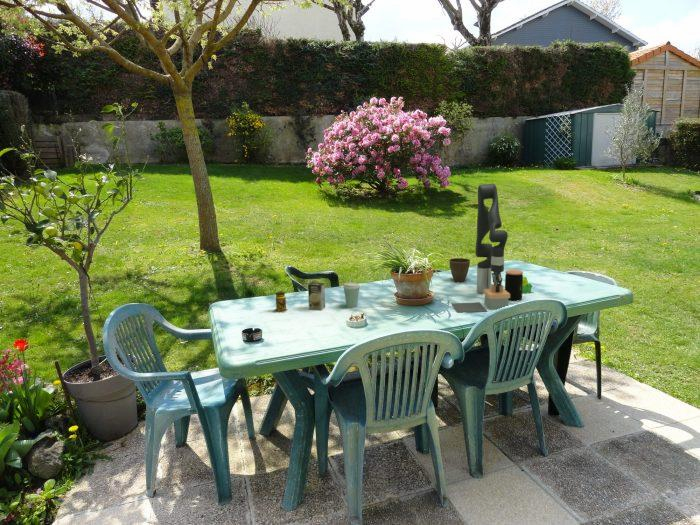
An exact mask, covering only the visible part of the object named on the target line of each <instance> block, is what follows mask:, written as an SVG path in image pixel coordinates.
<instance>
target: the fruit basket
mask: <svg viewBox="0 0 700 525" xmlns="http://www.w3.org/2000/svg"><path fill="white" fill-rule="evenodd" d="M532 288H533V285H532V284H531V283H529V281H528V278H527V276H523V287H522V294H530V293H531V291H532Z"/></svg>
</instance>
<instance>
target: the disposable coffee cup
mask: <svg viewBox="0 0 700 525" xmlns="http://www.w3.org/2000/svg"><path fill="white" fill-rule="evenodd" d="M342 287H343V293H344V297H345V303H346V307H347V308H351V309H353V308H357V306H358V301H359V292H360V284H359V283H357V282H344V283H343V286H342Z"/></svg>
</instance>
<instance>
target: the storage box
mask: <svg viewBox="0 0 700 525" xmlns="http://www.w3.org/2000/svg"><path fill="white" fill-rule="evenodd" d="M484 305H485V306H486V307H487V309H489V310H499V309H498V308H502V307H505V306H508V307H509V300H508V298H503V299H489V298H488V297H487V296H486V295H485V294H484Z"/></svg>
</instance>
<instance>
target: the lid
mask: <svg viewBox="0 0 700 525" xmlns="http://www.w3.org/2000/svg"><path fill="white" fill-rule="evenodd" d="M483 293H484V296H485V295H486V296H487V297H488V298H489V299H503V298H510V294H509V293H508V292H507V291H506V290H505V288H504V285H503V284H501V286H500V291H499V292H496V285H494V284H491V285H490V289H484V290H483Z"/></svg>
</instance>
